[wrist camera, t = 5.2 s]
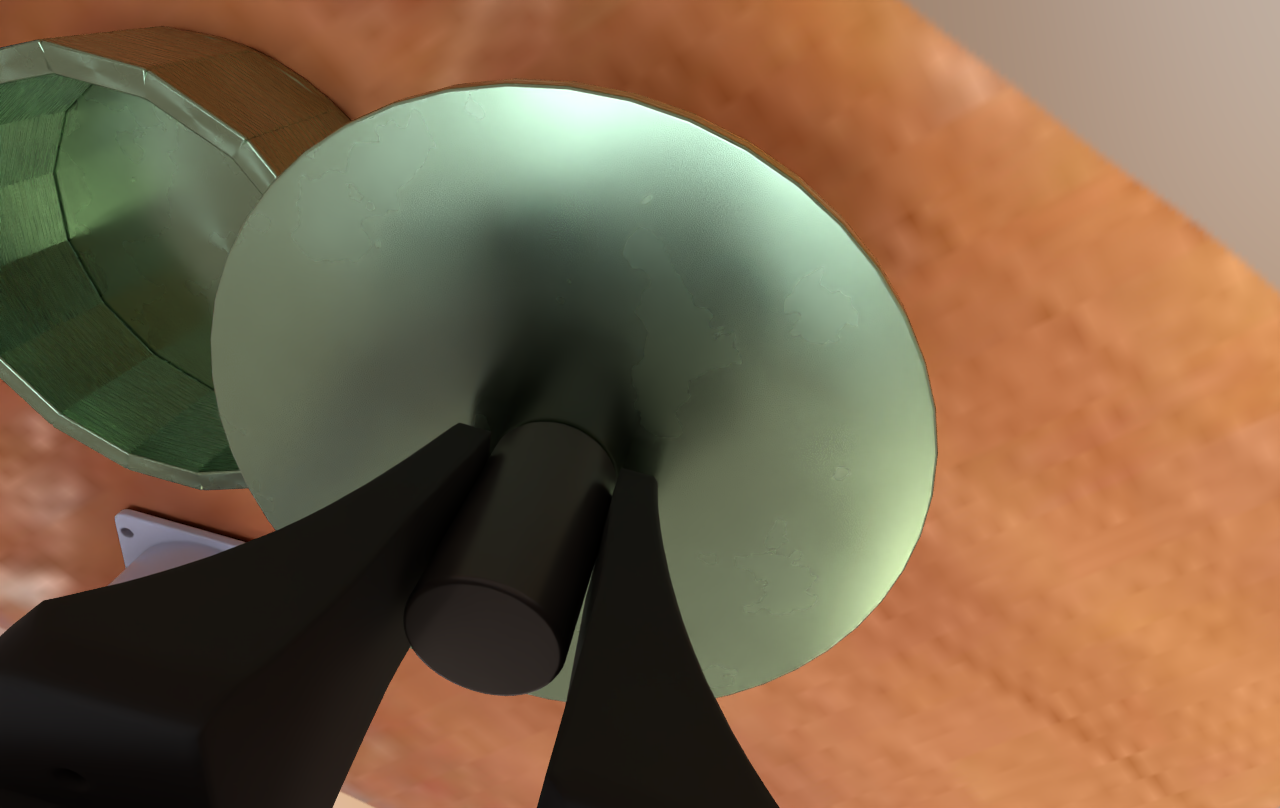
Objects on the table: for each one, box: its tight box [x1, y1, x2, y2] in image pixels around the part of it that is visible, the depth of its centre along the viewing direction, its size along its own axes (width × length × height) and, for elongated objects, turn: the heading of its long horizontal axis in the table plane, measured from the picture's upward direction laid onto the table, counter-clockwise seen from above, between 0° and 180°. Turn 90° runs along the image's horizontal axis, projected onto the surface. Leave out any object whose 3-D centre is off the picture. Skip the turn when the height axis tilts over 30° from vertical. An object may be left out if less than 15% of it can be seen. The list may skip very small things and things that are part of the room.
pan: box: [0, 26, 351, 490], centre depth 21 cm, size 12×12×4 cm
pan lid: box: [210, 79, 938, 702], centre depth 12 cm, size 14×14×5 cm
